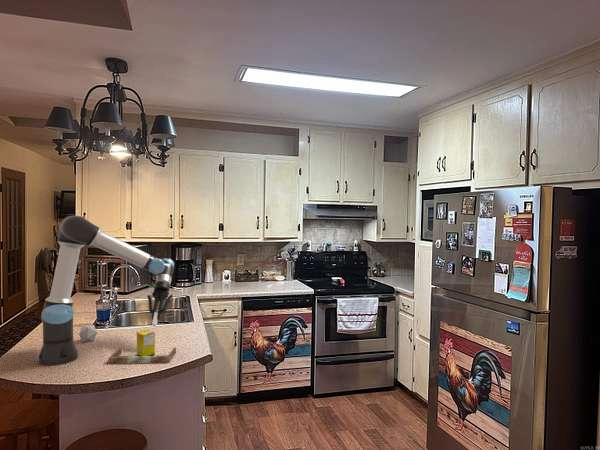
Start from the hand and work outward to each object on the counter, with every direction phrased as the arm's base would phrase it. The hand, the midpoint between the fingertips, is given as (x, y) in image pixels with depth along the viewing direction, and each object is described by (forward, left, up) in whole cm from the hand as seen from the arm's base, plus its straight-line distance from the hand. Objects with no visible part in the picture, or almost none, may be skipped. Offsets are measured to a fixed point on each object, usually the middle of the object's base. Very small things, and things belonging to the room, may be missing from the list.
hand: (154, 325), depth 198 cm
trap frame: (-1, -13, -11) cm, 17 cm away
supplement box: (-1, -10, -11) cm, 15 cm away
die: (-37, +13, -12) cm, 41 cm away
